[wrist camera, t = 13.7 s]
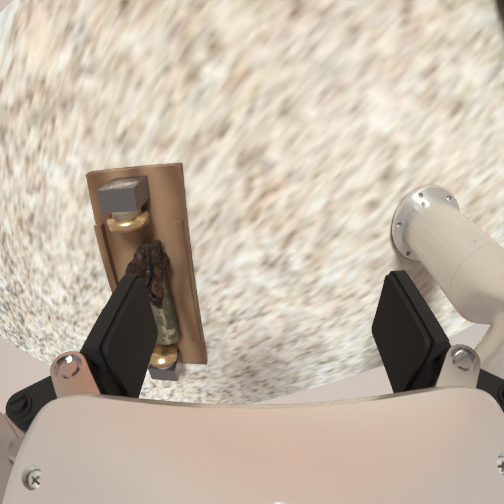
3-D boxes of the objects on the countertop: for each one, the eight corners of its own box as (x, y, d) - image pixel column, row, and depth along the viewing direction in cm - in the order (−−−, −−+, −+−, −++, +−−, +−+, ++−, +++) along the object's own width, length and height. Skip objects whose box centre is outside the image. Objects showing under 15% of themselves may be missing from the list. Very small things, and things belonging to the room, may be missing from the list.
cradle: (182, 162, 39) (177, 167, 36) (207, 358, 57) (205, 369, 54) (90, 171, 39) (81, 176, 36) (139, 354, 57) (136, 364, 55)
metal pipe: (183, 328, 51) (177, 352, 46) (147, 325, 51) (138, 348, 46) (170, 235, 42) (159, 256, 37) (126, 234, 42) (111, 254, 37)
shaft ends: (149, 175, 38) (134, 188, 33) (184, 359, 55) (179, 383, 50) (112, 178, 38) (93, 192, 33) (156, 358, 55) (149, 381, 50)
